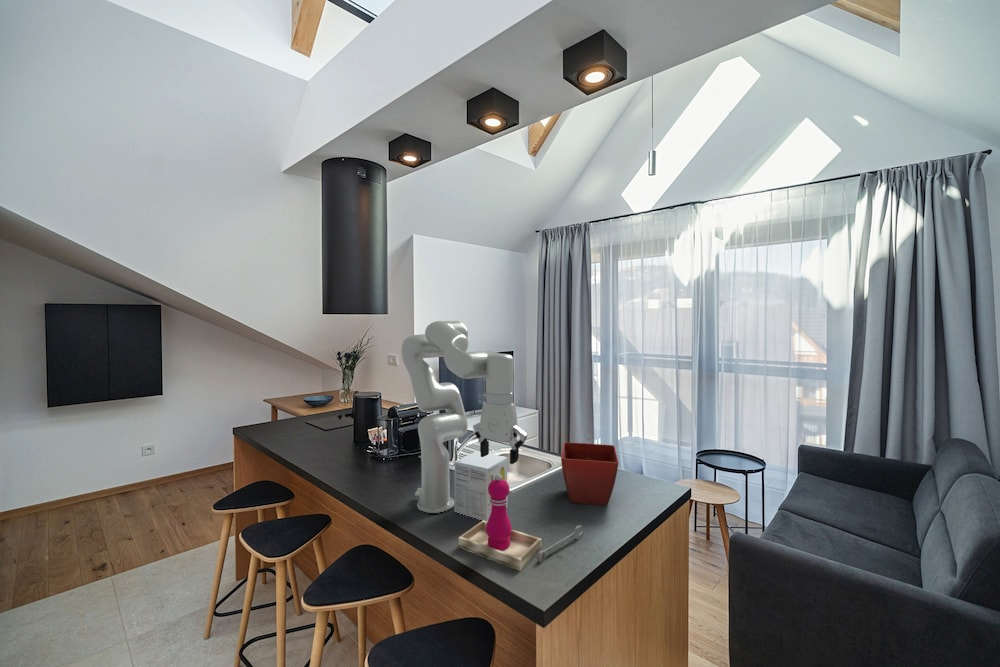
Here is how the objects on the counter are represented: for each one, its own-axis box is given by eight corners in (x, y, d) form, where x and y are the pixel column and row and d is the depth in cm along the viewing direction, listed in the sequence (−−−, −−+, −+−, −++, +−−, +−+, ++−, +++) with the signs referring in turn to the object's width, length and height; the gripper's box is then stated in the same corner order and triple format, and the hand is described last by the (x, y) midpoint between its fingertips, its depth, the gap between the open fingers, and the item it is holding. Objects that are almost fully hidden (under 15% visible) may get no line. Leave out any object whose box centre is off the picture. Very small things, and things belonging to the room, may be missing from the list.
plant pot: (618, 511, 139) (618, 462, 138) (560, 506, 142) (560, 458, 142) (614, 488, 157) (614, 444, 157) (563, 484, 161) (563, 441, 160)
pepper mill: (480, 544, 117) (480, 474, 116) (499, 535, 122) (499, 467, 121) (498, 555, 111) (498, 481, 111) (517, 544, 117) (517, 474, 116)
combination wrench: (539, 552, 109) (584, 525, 123) (535, 550, 110) (581, 523, 123) (539, 566, 109) (584, 537, 123) (535, 564, 110) (581, 535, 124)
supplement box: (487, 523, 131) (486, 468, 130) (453, 513, 138) (453, 461, 137) (508, 507, 142) (508, 456, 142) (476, 498, 149) (476, 450, 148)
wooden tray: (458, 548, 117) (458, 537, 117) (483, 529, 127) (482, 520, 127) (520, 571, 106) (520, 559, 106) (541, 549, 116) (541, 538, 116)
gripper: (466, 397, 116) (466, 457, 117) (519, 404, 107) (519, 469, 108) (481, 392, 123) (481, 449, 124) (533, 399, 113) (532, 461, 114)
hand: (498, 459), depth 116 cm, fingers open, 9 cm apart
